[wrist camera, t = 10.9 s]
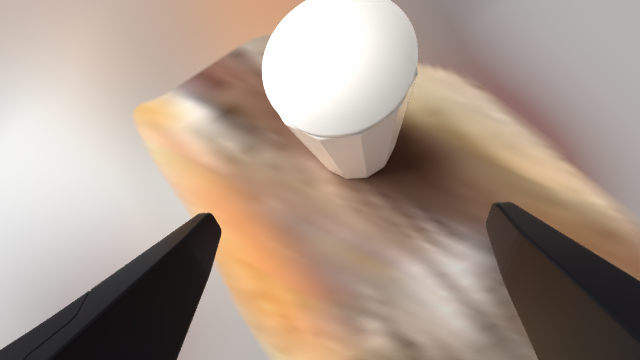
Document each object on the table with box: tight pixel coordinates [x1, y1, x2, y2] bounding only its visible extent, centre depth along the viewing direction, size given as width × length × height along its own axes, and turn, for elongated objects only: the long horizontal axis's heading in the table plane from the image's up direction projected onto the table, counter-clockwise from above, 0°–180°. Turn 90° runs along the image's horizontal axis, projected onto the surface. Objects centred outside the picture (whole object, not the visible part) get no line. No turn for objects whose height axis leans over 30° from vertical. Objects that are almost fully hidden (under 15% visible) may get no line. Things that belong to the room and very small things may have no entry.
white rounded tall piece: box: [262, 0, 418, 179], centre depth 16 cm, size 7×7×12 cm
